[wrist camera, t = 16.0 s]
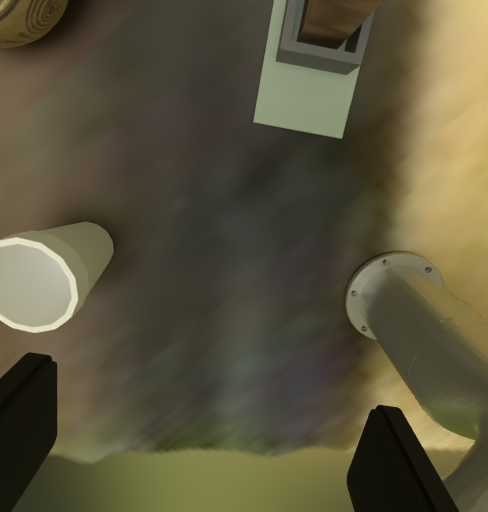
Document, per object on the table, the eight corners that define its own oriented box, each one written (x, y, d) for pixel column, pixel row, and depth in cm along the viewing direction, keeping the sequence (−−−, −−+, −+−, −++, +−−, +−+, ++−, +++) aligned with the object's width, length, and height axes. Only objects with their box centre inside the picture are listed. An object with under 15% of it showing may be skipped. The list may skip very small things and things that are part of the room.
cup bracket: (383, -41, 34) (412, -80, 28) (339, 138, 39) (355, 138, 33) (284, -62, 33) (292, -106, 27) (253, 122, 38) (254, 119, 33)
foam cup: (65, 195, 41) (-12, 218, 29) (136, 230, 43) (91, 266, 30) (42, 261, 44) (-37, 307, 32) (110, 291, 45) (58, 347, 33)
